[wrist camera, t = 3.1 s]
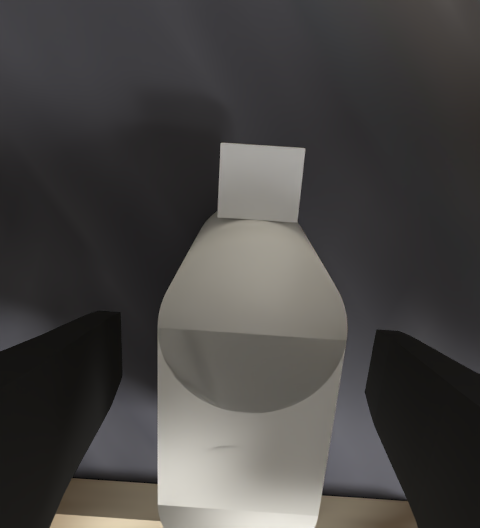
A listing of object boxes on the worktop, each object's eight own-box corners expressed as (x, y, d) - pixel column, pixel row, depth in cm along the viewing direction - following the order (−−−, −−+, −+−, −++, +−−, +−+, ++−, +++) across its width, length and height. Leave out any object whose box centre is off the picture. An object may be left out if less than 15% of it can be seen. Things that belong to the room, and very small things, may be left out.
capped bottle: (322, 148, 11) (377, 155, 6) (289, 426, 14) (308, 573, 9) (196, 140, 11) (157, 140, 6) (188, 419, 14) (157, 562, 9)
